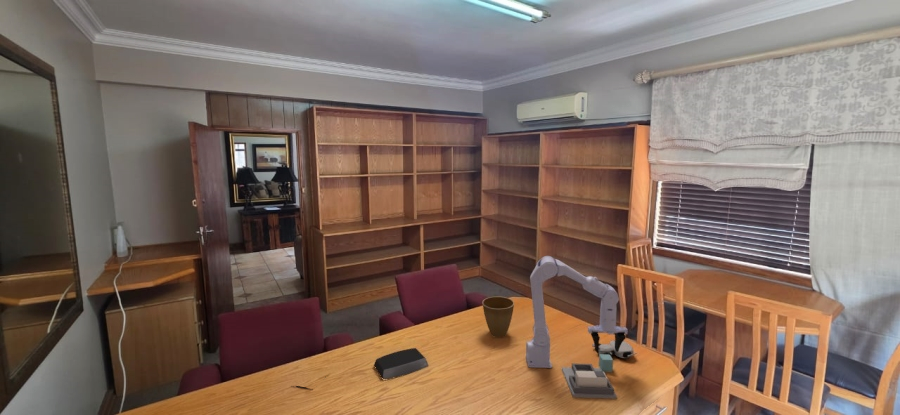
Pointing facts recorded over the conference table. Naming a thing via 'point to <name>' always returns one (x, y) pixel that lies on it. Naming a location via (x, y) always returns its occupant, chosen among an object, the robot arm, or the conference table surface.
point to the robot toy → (610, 350)
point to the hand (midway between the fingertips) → (606, 350)
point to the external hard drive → (400, 363)
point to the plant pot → (498, 314)
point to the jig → (586, 391)
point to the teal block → (606, 363)
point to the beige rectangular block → (590, 379)
